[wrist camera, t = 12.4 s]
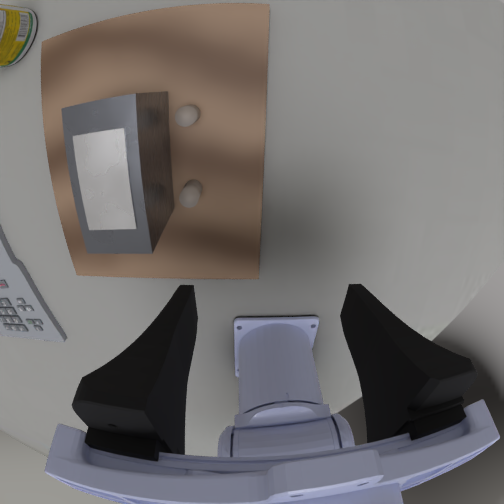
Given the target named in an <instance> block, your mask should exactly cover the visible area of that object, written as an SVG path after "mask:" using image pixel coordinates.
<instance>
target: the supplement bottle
mask: <svg viewBox="0 0 504 504" xmlns="http://www.w3.org/2000/svg"><path fill="white" fill-rule="evenodd" d="M36 26H37V22H36V16H35V14H34V13H33V11H31V10H30V9H27V8H23V7H16V6H9V5H2V4H0V67H6V66H10V65H13V64H15V63H16V62H17V61H19V60H20V59H21V58H22V57H23V56H24V54H25V53H26V52H27V50H28V49H29V47H30V45H31V43H32V41H33V39H34V36H35V32H36Z"/></svg>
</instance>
